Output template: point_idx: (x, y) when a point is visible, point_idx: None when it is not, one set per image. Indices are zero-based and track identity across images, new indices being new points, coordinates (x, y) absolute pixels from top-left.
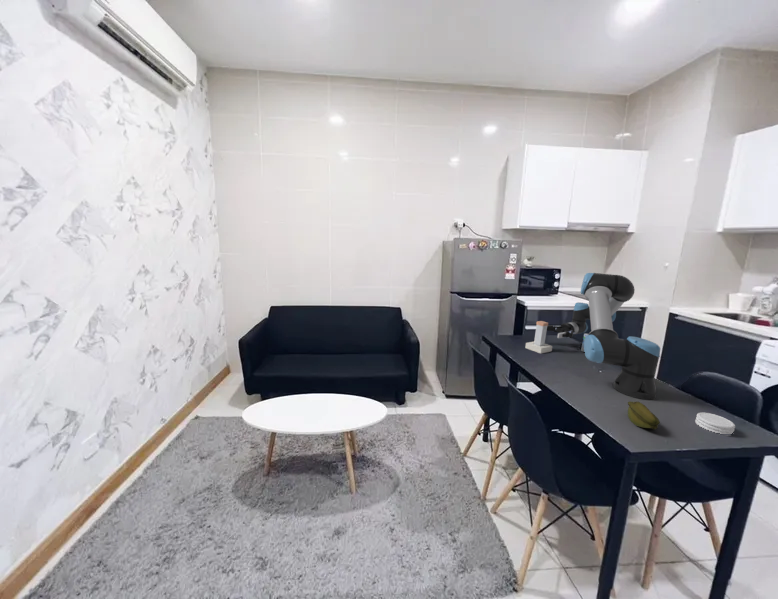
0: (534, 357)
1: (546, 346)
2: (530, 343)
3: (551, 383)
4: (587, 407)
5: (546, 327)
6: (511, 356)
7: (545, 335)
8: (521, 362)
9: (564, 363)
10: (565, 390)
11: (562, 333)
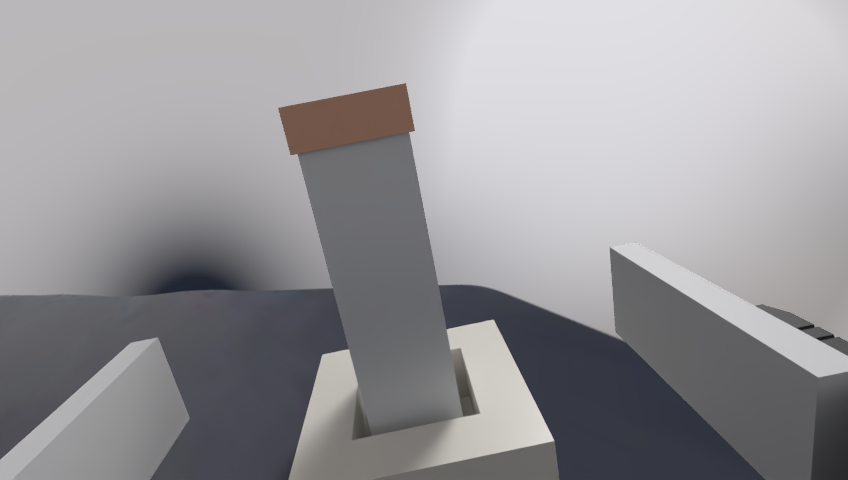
0: None
1: (324, 417)
2: (467, 339)
3: (152, 302)
4: (33, 309)
5: (308, 182)
6: None
7: (338, 299)
8: (330, 293)
9: None
10: (98, 310)
11: (52, 424)
